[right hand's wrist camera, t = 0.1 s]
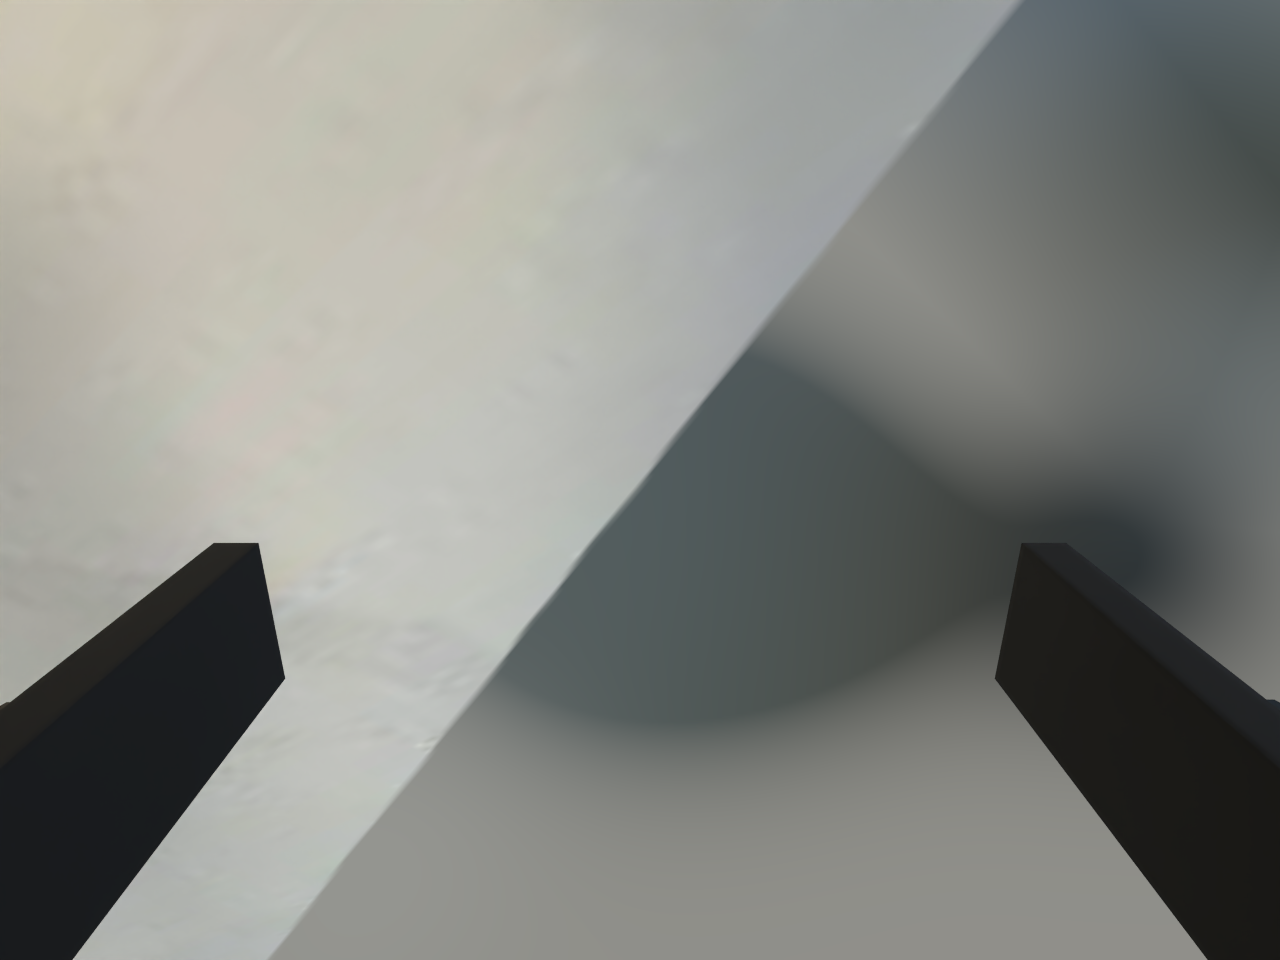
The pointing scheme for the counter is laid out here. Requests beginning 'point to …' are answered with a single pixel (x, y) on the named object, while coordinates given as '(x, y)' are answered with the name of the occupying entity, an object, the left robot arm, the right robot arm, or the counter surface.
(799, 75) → the counter surface
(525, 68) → the counter surface
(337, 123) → the counter surface
